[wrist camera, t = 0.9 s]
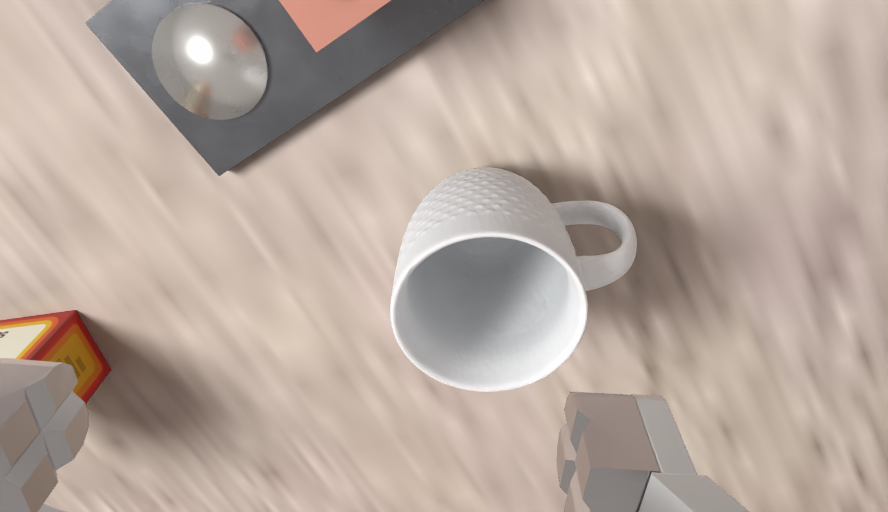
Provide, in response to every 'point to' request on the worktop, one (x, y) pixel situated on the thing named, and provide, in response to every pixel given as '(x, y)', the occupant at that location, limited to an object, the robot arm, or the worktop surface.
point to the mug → (498, 280)
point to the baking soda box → (56, 346)
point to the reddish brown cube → (328, 17)
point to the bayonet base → (252, 63)
